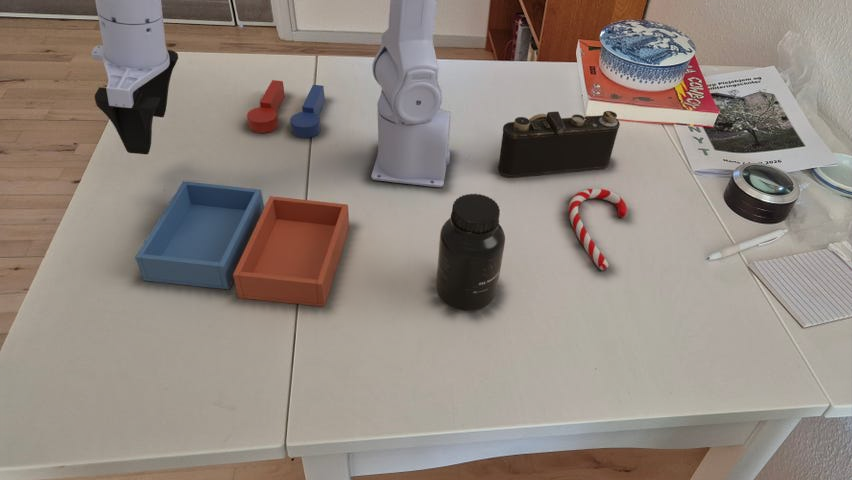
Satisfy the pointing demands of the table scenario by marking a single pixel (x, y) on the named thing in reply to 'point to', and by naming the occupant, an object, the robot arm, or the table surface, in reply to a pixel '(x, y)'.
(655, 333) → the table surface
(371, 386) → the table surface
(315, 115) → the blue spoon
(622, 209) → the candy cane
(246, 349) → the table surface
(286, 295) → the red bin
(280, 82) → the red spoon
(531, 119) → the camera
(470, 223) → the supplement bottle
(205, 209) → the blue bin
